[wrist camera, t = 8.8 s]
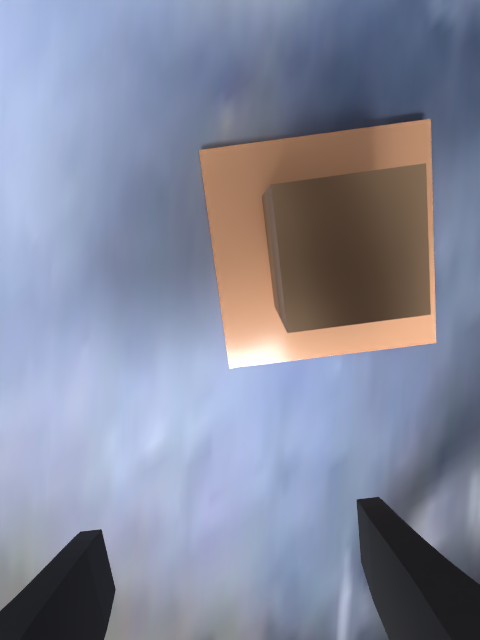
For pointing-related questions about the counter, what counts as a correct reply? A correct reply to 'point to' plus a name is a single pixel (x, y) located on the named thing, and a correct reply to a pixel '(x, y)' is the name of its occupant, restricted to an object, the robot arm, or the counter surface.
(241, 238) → the plate
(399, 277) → the cube
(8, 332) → the counter surface
